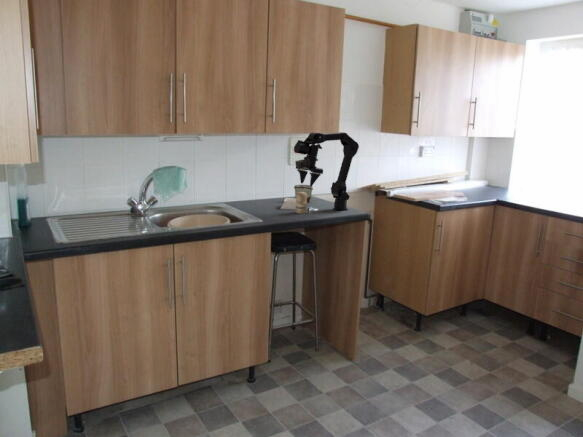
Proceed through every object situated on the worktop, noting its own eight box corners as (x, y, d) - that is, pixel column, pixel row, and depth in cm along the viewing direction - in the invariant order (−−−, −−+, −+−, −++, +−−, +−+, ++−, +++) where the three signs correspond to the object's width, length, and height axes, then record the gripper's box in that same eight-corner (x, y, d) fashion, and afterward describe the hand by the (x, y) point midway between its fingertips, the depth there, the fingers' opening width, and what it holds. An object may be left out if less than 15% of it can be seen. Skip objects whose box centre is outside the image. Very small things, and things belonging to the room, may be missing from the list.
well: (303, 205, 285) (303, 198, 284) (301, 209, 273) (301, 202, 272) (283, 205, 286) (283, 197, 285) (280, 209, 274) (280, 201, 273)
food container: (315, 201, 299) (316, 185, 297) (312, 203, 293) (312, 186, 291) (297, 199, 304) (297, 183, 302) (293, 201, 298) (293, 185, 296)
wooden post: (302, 211, 270) (303, 191, 267) (306, 213, 265) (307, 193, 263) (295, 211, 268) (295, 192, 265) (298, 213, 264) (299, 193, 261)
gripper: (290, 152, 262) (285, 180, 264) (308, 155, 247) (303, 185, 249) (306, 155, 268) (301, 182, 270) (326, 158, 253) (320, 187, 255)
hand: (306, 184), depth 261 cm, fingers open, 9 cm apart
